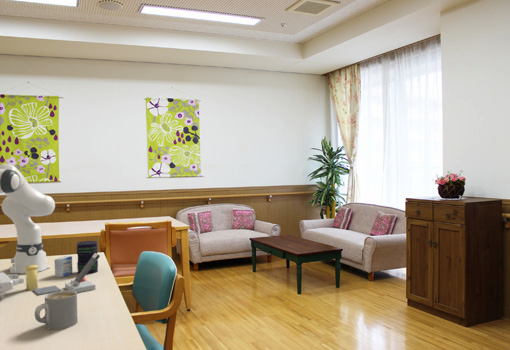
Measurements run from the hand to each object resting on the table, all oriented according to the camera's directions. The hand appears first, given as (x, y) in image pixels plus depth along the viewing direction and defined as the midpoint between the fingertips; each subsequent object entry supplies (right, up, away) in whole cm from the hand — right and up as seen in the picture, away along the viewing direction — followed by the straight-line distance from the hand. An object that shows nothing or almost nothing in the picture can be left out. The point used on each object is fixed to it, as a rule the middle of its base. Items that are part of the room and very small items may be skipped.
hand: (20, 278), depth 189 cm
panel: (+25, -5, +2) cm, 25 cm away
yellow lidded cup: (+4, -5, +3) cm, 7 cm away
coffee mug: (+34, -6, -42) cm, 54 cm away
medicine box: (+7, -5, +27) cm, 28 cm away
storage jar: (+17, -5, +32) cm, 36 cm away
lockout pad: (+12, -5, -1) cm, 13 cm away
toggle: (+24, -2, 0) cm, 24 cm away
